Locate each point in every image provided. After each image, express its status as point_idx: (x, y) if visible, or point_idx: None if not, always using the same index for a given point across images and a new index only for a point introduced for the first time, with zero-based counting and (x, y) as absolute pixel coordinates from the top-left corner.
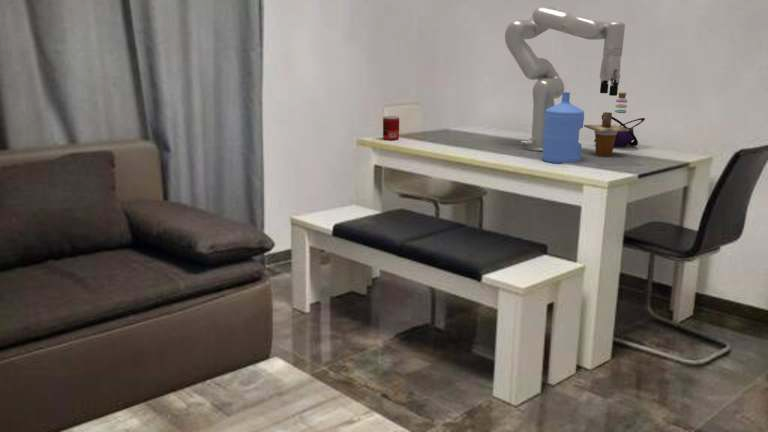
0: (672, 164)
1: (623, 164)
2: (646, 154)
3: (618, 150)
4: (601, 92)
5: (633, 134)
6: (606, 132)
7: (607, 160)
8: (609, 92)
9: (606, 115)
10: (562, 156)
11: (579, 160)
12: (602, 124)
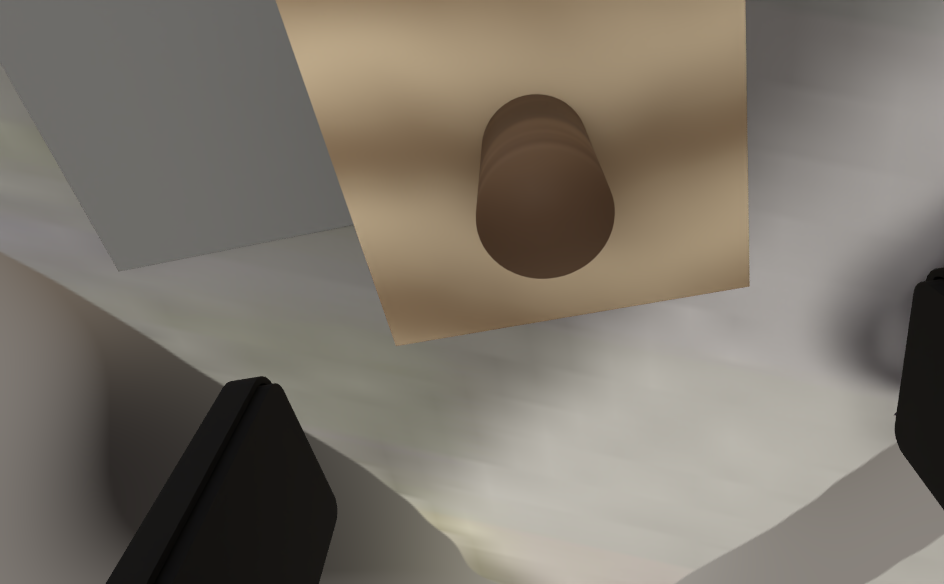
0: (318, 431)
1: (89, 143)
2: (657, 383)
3: (837, 247)
4: (922, 299)
5: (896, 413)
6: None
7: (220, 51)
8: (232, 422)
9: (479, 181)
10: None
11: None
12: (522, 104)
